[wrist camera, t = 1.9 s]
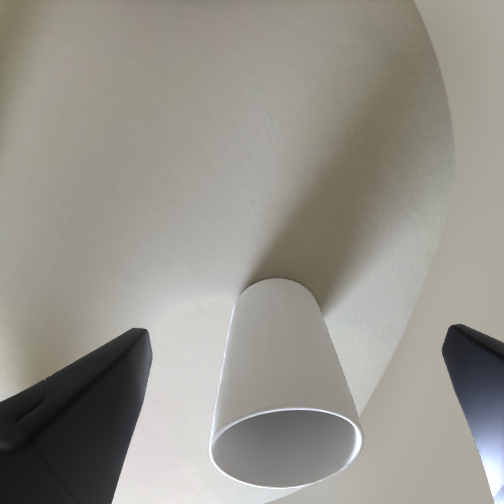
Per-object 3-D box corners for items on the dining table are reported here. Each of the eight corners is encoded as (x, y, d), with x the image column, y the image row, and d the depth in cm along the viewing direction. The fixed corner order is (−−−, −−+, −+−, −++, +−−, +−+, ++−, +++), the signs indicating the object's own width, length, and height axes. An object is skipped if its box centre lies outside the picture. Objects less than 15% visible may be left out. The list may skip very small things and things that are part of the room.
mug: (223, 276, 22) (194, 409, 11) (321, 268, 22) (375, 394, 11) (239, 385, 26) (231, 512, 14) (320, 379, 25) (345, 503, 14)
